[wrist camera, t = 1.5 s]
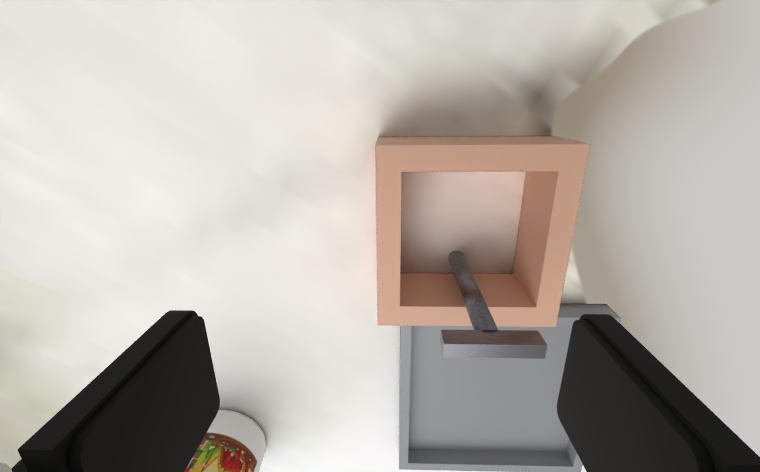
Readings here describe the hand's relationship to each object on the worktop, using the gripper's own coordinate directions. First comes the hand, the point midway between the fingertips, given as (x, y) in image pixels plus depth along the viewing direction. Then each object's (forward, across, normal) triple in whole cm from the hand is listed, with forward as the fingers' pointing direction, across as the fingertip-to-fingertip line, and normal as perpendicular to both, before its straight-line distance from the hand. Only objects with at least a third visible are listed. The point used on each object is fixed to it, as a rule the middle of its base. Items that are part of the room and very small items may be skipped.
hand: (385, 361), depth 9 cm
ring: (+18, -5, +2) cm, 19 cm away
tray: (+19, -9, +17) cm, 27 cm away
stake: (+19, -5, +5) cm, 20 cm away
